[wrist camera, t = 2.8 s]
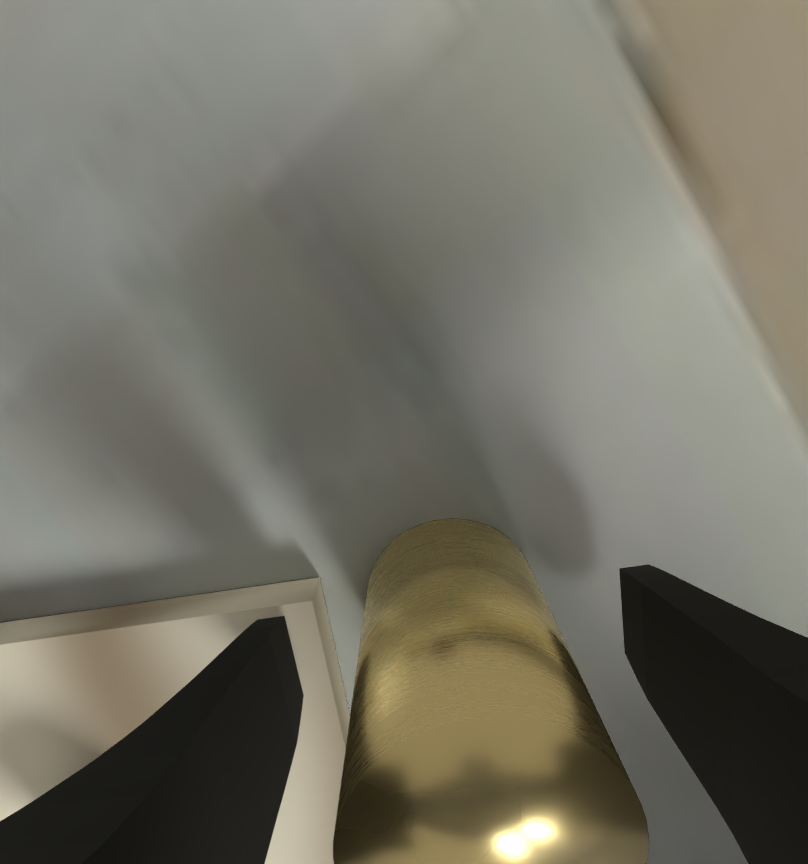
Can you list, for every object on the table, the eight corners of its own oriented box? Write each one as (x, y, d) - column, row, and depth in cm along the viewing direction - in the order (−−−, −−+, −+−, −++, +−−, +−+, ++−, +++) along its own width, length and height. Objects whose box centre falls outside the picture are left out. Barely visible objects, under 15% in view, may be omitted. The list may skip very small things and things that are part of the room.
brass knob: (525, 507, 12) (640, 702, 6) (541, 656, 13) (655, 951, 7) (353, 532, 12) (303, 746, 6) (382, 677, 13) (362, 982, 7)
